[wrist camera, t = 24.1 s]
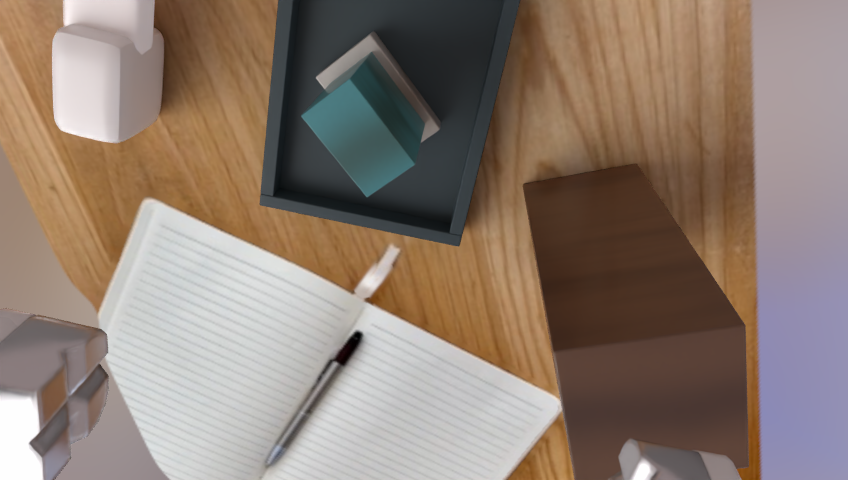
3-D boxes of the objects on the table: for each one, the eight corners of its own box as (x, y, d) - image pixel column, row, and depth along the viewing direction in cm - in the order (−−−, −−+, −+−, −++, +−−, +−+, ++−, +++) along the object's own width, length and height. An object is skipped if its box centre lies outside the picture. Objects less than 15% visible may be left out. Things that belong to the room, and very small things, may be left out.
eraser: (320, 72, 38) (281, 109, 31) (374, 30, 37) (347, 57, 29) (388, 159, 40) (368, 214, 33) (441, 122, 39) (433, 171, 32)
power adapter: (96, -91, 36) (32, -93, 31) (184, -69, 36) (134, -68, 31) (95, 105, 41) (39, 132, 36) (172, 124, 41) (127, 153, 36)
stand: (522, 183, 41) (553, 352, 25) (637, 162, 40) (746, 324, 24) (539, 280, 44) (576, 487, 28) (646, 263, 43) (749, 468, 27)
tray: (295, -70, 36) (284, -69, 34) (521, -21, 36) (524, -17, 34) (269, 191, 43) (259, 205, 41) (460, 231, 43) (459, 247, 41)
